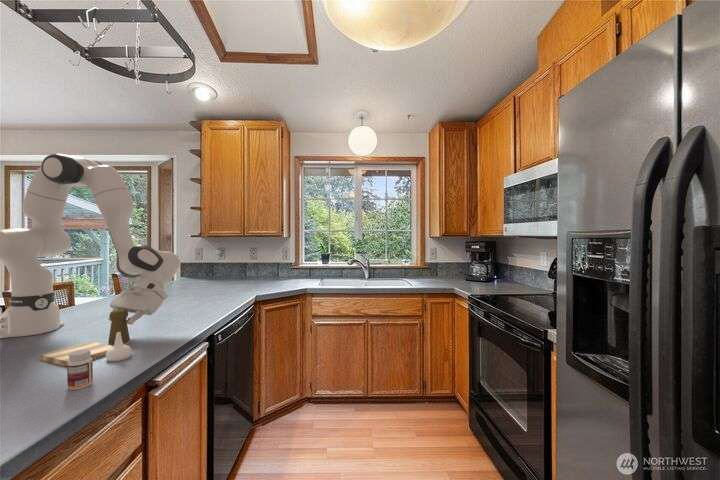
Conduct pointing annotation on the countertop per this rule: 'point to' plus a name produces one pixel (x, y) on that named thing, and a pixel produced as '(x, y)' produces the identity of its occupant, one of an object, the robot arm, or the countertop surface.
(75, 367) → the pill bottle
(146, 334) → the countertop surface
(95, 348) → the birch board
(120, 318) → the cork
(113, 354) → the garlic bulb
